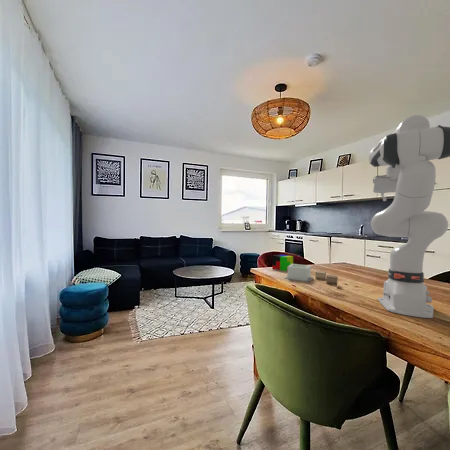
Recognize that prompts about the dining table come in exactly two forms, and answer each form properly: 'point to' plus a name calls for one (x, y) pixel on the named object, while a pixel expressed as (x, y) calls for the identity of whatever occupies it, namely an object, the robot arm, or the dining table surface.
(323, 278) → the oak cube
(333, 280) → the walnut cube
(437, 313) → the dining table surface
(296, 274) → the grey box
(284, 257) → the puzzle toy
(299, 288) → the dining table surface
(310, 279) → the tray
